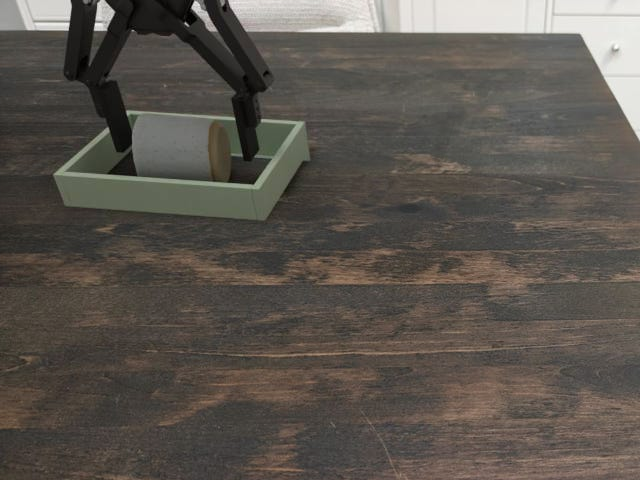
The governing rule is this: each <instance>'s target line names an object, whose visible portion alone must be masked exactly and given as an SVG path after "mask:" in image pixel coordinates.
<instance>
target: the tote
mask: <svg viewBox="0 0 640 480" xmlns="http://www.w3.org/2000/svg"><path fill="white" fill-rule="evenodd" d="M126 113H127V116H128V119H129V123H130V126H131V129H132V133H133V128H134V125H135V122H136V119H137V118H138V116H139V115H140V114H143V113H150V114H161V115H173V116H184V117H200V118H208V119H212V120H216V121H218V122H220V123H221V124H222V125H223V126H224V127H225V129H226V131H227V133H228V137H229V142H230V148H231V157H241V158H243V155H242V150H241V145H240V140H239V135H238V130H237V126H236V121H235V116H221V115H205V114H188V113H173V112H172V113H171V112H159V111H158V112H157V111H144V110H143V111H141V110H126ZM256 134H257V139H258V144H259V151H258V153H257V154H256V155H255V157H254V158H257V159H258V158H259V159H271V160H270V161H269V162H268V163H267V165H266V167H265V168H264V170H263V171H262V173H261V174H260V175H259V177H258V178H257V180H256V181H255V183H254V184H249V183H233V182H228V183H221V182H207V181H192V180H178V179H163V178H149V177H138V176H133V175H119V174H108V173H109V172H110V171H111V170H113V168H114V167H116V165H118V163H119V162H121V161H122V160H123V159H124V158H125V157H126V156H127V155H128V154H129V153H130V152H131V151H132V145H131V146H130V147H129V148H128V149H127V150H126V151H125V152H124V153H118V152H116V149H115V146H114V143H113V140H112V137H111V134H110V131H109V128H108V126H107V127H106V128H105V129H103V131H101V132H100V133H99V134H98V135H97V136H95V137H94V138H93V139H92V140H91V141H90V142H89V143H88V144H86V145H85V146H84V147H83V148H82V149H80V150H79V151H78V152H77V153H76V154H75V155H74V156H73V157H71V158H70V159H69V160H68V161H67V162H65V164H63V165H62V166H61V167H60V168H59V169H58V170H56V171H55V172H54V173H53V174H52V176H53V179H54V182H55V183H56V184H55V185H56V187H57V189H58V191H59V194H60V196H61V199H62V201H63V204H64V206H65V207H73V208H86V209H98V210H100V209H101V210H113V211H127V212H128V211H129V212H139V213H141V212H142V213H152V214H153V213H155V214H167V215H182V216H183V215H184V216H194V217H195V216H197V217H211V218H222V219H223V218H224V219H225V218H226V219H237V220H248V221H249V220H250V221H251V220H252V221H264V222H265V221H266V220H268V219H267V218H268V217H269V216H270V214H271V212H272V211H273V209H274V208H275V206H276V204H277V203H278V201H279V199H280V198H281V196H282V195H283V193H284V192H285V190H286V188H287V187H288V185H289V184H290V182H291V181H292V180H293V178H294V176H295V175H296V173H297V171H298V169H299V168H300V166H301V165H302V163H303V162H311V155H310V154H311V153H310V148H309V140H308V134H307V126H306V122H305V121H299V120H298V121H297V120H296V121H295V120H285V119H269V118H268V119H267V118H262V119H261V122H260V124H259V125H258V126H257V127H256Z"/></svg>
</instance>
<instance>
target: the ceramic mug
mask: <svg viewBox="0 0 640 480" xmlns="http://www.w3.org/2000/svg"><path fill="white" fill-rule="evenodd" d="M131 151H132V157H133V158H132V159H133V163H134V167H135V171H136V175H137V177H149V178H163V179H178V180H192V181H207V182H221V183H229V180H230V177H231V171H232V156H231V148H230V142H229V137H228V133H227V131H226V129H225V127H224V126H223V125H222V124H221V123H220V122H218V121H216V120H212V119H208V118H200V117H184V116H173V115H161V114H150V113H143V114H140V115H139V116H138V118H137V119H136V122H135V125H134V128H133V133H132V150H131Z"/></svg>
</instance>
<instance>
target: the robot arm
mask: <svg viewBox="0 0 640 480" xmlns="http://www.w3.org/2000/svg"><path fill="white" fill-rule="evenodd" d="M100 2H101V0H70V5H71V8H70V17H69V22H68V23H69V24H68V32H67V39H66V49H65V55H64V64H63V73H62V74H63V76H64V78H65V79H66V80H67V81H69V82H74V81H77V82H79V83H82V84H84V86H85V87H86V88H87V89H88V91H89V93H90V97H91V100H92V102H93V107H94V109H95V112H96V114H97V115H98V117H99V119H105V122H106V125H107V127H108V128H109V131H110V134H111V137H112V140H113V143H114V146H115V149H116V152H118V153H124V152H125V151H126V150H127V149H128V148H129V147H130V146H131V145H132V129H131V126H130V123H129V119H128V116H127V113H126V111H127V110H126V106H125V104H124V100H123V97H122V96H123V95H122V94H121V91H120V90H121V89H120V87H119V83H118V81H117V80H115V79H114V80H113V79H109V80H108V81H107V79H108V78H109V77H110V76H111V74H110V73H111V71H112V69H113V68H114V65H115V63H116V62H117V60H118V57H119V56H120V54H121V52H122V50H123V48H124V47H125V45H126V42H127V41H128V39H129V37H130V35H131V33H132V31H134V32H136V35H140V36H147V35H151V34H154V35H157V36H160V37H171V36H172V35H175V36H176V37H177V38H178V39H179V40H180V41H181V42H183V43H184V44H187V45H188V46H190V47H191V48H192V49H193V50H194V51H195V52H196V53H197V54H198V55H199V57H201V58H202V59H203V60H204V61H205V62H206V64H208V66H209V67H210V68H212V69H213V70H214V71H215V72H216V73H217V74H218V76H219V77H220V78H221V79H222V80H223V81H224V82H225V83H226V84H227V85H228V86H229V87H230V88H231V89H232V90H233V91H234V92H235V94H233V95H232V97H231V98H230V101H231V105H232V112H233V115H234V116H233V117H235V121H236V126H237V130H238V135H239V140H240V145H241V150H242V155H243V157H242V159H243V162H252V161H253V160H254V158H256V157H255V155H256V154H257V153H258V151H259V144H258V139H257V134H256V127H257V126H258V125H259V124H260V122H261V119H263V116H262V110H261V105H260V100H259V93H265V92H266V91H267V90H268V89H269V88H270V86H272V84H273V83H274V81H275V76H274V73H273V72H272V70H271V69H270V67H269V66H268V64H267V62H266V60H265V59H264V57H263V56H262V55H261V53H260V52H259V50H258V48H257V47H256V45H255V44H254V42H253V40H252V39H251V37H250V36H249V34H248V32H247V31H246V29H245V28H244V26H243V24H242V22H241V21H240V20H239V18H238V16H237V15H236V13H235V12H234V10H233V9H232V7H231V4H230V1H229V0H104V2H105V3H106V4H107V5H108V6H109V7H110V9H112V10H113V12H114V13H113V15H112V17H111V19H110V21H109V23H108V26H107V27H106V33H105V35H104V37H103V38H102V41H101V43H100V45H99V47H98V48H97V50H96V53H95V54H94V57H93V59H92V61H91V62H90V59H91V52H92V45H93V40H94V39H93V38H94V33H95V25H96V19H97V13H98V3H100ZM195 2H197V3H198V4H199V7H200V9H201V10H202V11H204V12H206V13H207V15H208V17H209V19H210V21H211V23H212V25H213V27H214V28H215V29H216V31H217V33H218V34H219V36H220V37H221V39H222V40H223V42H224V44H225V45H226V46H227V47H226V46H224V44H223V43H221V41H220V40H219V39H218V38H217V37H216V36H215V35H214V34H213V33H212V32H211V31H210V30H209V29H208V28H207V27H206V23H205V21H204V19H202V18H201V16H200V15H199V14H198V13H197V12H196V11H195V10H194V9H193V6H194V4H195ZM185 23H186V24H185ZM228 49H229V50H228Z"/></svg>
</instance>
